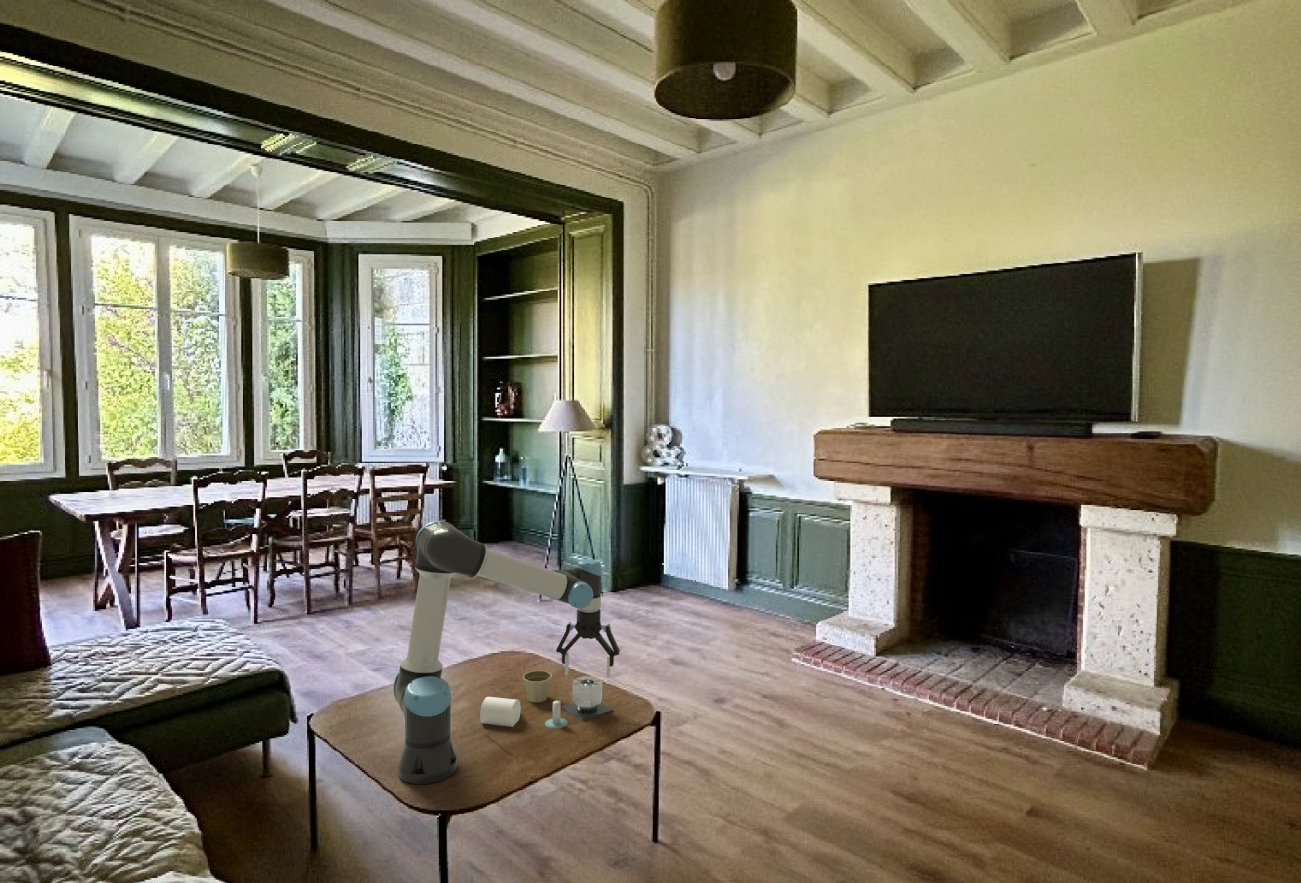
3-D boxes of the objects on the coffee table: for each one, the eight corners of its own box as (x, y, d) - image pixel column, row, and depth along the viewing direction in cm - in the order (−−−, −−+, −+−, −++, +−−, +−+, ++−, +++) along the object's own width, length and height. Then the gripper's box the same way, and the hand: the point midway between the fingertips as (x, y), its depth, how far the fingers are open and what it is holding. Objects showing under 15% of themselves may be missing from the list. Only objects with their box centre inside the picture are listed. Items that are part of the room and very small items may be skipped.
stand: (553, 733, 216) (553, 709, 216) (540, 725, 221) (540, 701, 221) (572, 727, 221) (572, 703, 220) (559, 719, 226) (559, 695, 225)
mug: (510, 732, 217) (511, 706, 216) (479, 728, 219) (479, 703, 218) (525, 715, 229) (525, 690, 228) (496, 711, 231) (496, 687, 230)
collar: (599, 707, 226) (599, 688, 225) (570, 705, 226) (570, 687, 226) (603, 695, 235) (603, 677, 234) (575, 694, 235) (576, 676, 235)
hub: (582, 724, 223) (583, 695, 222) (560, 711, 232) (561, 682, 231) (613, 713, 230) (614, 685, 230) (591, 701, 240) (591, 673, 239)
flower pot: (543, 709, 233) (543, 683, 232) (517, 705, 236) (517, 679, 235) (556, 698, 242) (556, 672, 241) (531, 693, 245) (531, 668, 244)
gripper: (629, 607, 232) (627, 672, 233) (552, 603, 234) (551, 668, 235) (626, 614, 224) (625, 681, 226) (547, 610, 226) (546, 677, 227)
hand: (587, 675), depth 230 cm, fingers open, 13 cm apart
